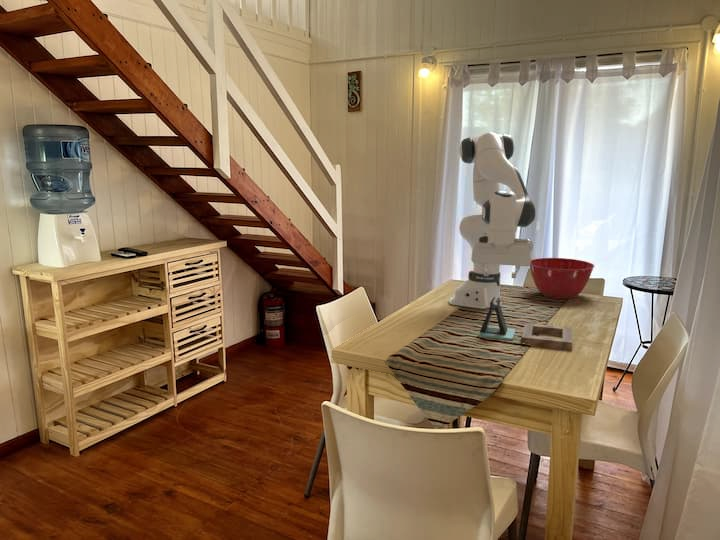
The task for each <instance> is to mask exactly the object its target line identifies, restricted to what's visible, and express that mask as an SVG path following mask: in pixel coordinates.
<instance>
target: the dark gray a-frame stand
mask: <svg viewBox="0 0 720 540" xmlns="http://www.w3.org/2000/svg"><path fill="white" fill-rule="evenodd" d="M494 299H495V297H494V298H493V299H492V301H491V302H490V308H489V309H488V311H487V315H486V316H485V319H484V321H483V324H482V326H481V327H482V328H480V329H481V330H480V329H479V331H480V332H482V333H493V334H501V335H506V332H507V330H508V329H507V328H508V327H507V323H506V320H505V317H504V314H503V310H502V307H501V306H500V302H501V303H502V300H500V299H501V297H500V298H497V299H496V301H495V302H497V304H498V305H496V304H495V305H494V303H493V301H494ZM493 312H495V314H496V315H495V316H496V318H497V319H496V321H497V324H498V327H499V328H490V327H488V326H489V323H490V322H491V321H490V320H491V317H492V314H493Z"/></svg>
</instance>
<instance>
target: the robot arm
mask: <svg viewBox="0 0 720 540" xmlns="http://www.w3.org/2000/svg"><path fill="white" fill-rule="evenodd" d="M515 150H516V149H515V141H514V138H513V137H512V136H511V134H510V135H509V134H505V133H502V134H497V133H494V132H485V133H484V134H481V135H479V136H474V137H471V136H469V137H465V138H464V139H462V141H461V142H460V144H459V149H458V153H459V156H460V159H461V161H462V162H463V163H465V164H470V165H471V164H473V170H472V189H473V191H472V193H473V200H474V202H475V204H476V205H477V206H480V207H481V208H482V213H481V214H472V215H468V216H465V217H463V218H462V219H461V221H460V223H459V230H458V231H459V234H460V236H461V238H462V239H464V240H465V242H467V243H468V244H469V246H470V247H471V250H472V251H471V262H472V263H473V269H470V271H468V275H467V278H468V279H467V280H466V281H464V282H463V283H461V284H460V285H458V286H457V288H456V289H455V291H454V296H451V297H450V298H449V300H448V303H449V304H450V305H454V306H459V307H460V306H461V307H467V308H475V309H482V310H483V309H488V308H489V309H490V302H491V301H492V299H493V298H494V297H495V299H494V301H493V303H494V305H495V304H496V305H498V304H497V302H495V301H496V299H497V298H500V300H501V293H500V292H501V291H500V284H501V272H500V267H501V266H515V271H514V272H512V273H511V279H516V278H517V274H518V272H519V270H520V269H521V267H530V264H531V260H532V252H533V250H534V243H533V241H531V240H529V239H528V238H525V239H523V238H522V239H521V238H516V233H517V231H518V227H519V228H527V227H529V226H530V224H532V223H533V222H534V221H535V219H536V207H535V204H534V202H533V200H532V199H531V198H530V196H529V192H528V190H527V188H526V186H525V183H524V179H523V178H522V176H521V174H520V172H519V169H518V168H517V167H516V166H515V165H513V164H512V163H511V162H510V161H509V160H510V159H511V158H512V157H513V155H514V153H515ZM501 184H502V185H505V186H507V187H508V188H510V190H507V189H505V190H501ZM502 305H503V303H502V300H501V302H500V307H501V306H502Z"/></svg>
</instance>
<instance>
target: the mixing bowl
mask: <svg viewBox="0 0 720 540" xmlns="http://www.w3.org/2000/svg"><path fill="white" fill-rule="evenodd" d="M594 268H595V264H593V263H592V262H588V261H586V260H580V259H574V258H567V257H566V258H562V257H541V258H539V257H538V258H534V259H531V264H530V265H529V269H530V274H531V276H532V279H533V282H534V284H535V287H536V289H537V290H538V291H539V292H540V293H541V294H542V295H543V296H544V297H547V298H550V297H551V299H557V298H561V299H560V300H567V299H574V298H575V297H577V296H578V295H579V294H581V293H582V291H583V290H584V289H585V287H586V286H587V284H588V282H589V280H590V279H591V276H592V272H593V271H594Z"/></svg>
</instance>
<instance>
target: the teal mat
mask: <svg viewBox="0 0 720 540" xmlns="http://www.w3.org/2000/svg"><path fill="white" fill-rule="evenodd" d="M488 327H490V328H499V326H490V325H488ZM481 328H482V326H481ZM481 328H480V329H479V331H478V333H477V337H478V336H479V337H478V338H483V337H487V338H486V339H493V338H498V339H497V340H502V339H507V340H506V341H511V340H513V341H514V337H515V335H516V332H515V331H517V330H516V329H517V328H511V327H507V329H508V330H507V332H506V335H501V334H493V333H482V332H480V330H481ZM514 334H515V335H514Z"/></svg>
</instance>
